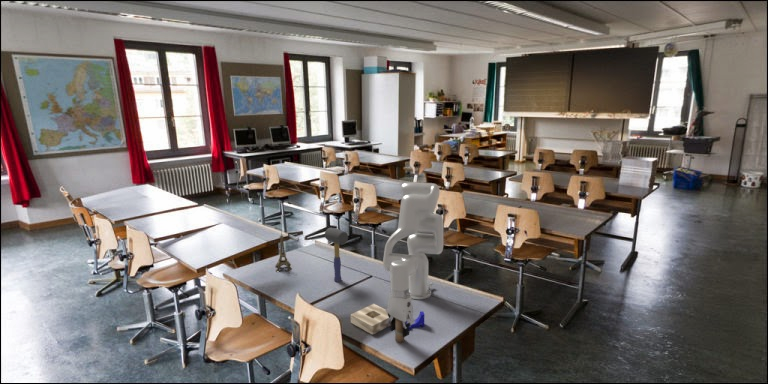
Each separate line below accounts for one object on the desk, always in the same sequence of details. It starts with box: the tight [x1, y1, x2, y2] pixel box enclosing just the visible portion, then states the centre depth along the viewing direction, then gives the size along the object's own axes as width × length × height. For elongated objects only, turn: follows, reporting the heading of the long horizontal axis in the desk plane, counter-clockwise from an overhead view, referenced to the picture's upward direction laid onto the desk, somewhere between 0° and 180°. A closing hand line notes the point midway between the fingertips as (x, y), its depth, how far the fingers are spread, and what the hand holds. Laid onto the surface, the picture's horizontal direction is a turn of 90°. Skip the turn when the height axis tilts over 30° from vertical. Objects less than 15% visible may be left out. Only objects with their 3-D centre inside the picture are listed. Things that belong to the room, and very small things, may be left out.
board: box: [350, 303, 391, 336], centre depth 183 cm, size 14×14×4 cm
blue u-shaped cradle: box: [406, 310, 425, 331], centre depth 179 cm, size 12×4×6 cm, turn 93°
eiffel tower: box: [274, 231, 293, 273], centre depth 242 cm, size 11×11×25 cm
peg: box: [394, 318, 405, 344], centre depth 169 cm, size 4×4×10 cm
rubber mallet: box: [324, 227, 349, 283], centre depth 223 cm, size 12×8×30 cm, turn 46°
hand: (399, 332), depth 169 cm, fingers open, 5 cm apart
